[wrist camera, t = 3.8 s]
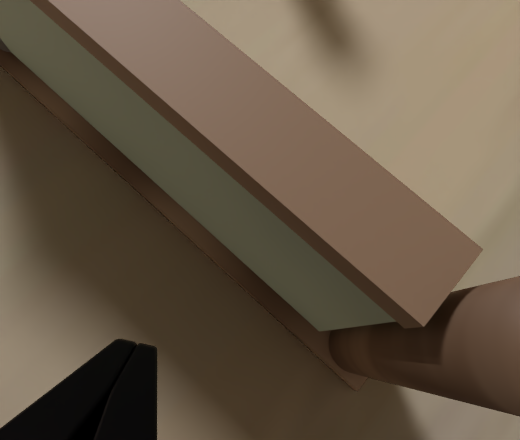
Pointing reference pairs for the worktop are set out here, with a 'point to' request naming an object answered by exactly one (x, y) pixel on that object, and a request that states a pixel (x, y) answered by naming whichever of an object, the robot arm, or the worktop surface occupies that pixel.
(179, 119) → the gate
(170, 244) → the worktop surface
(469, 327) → the gate frame
